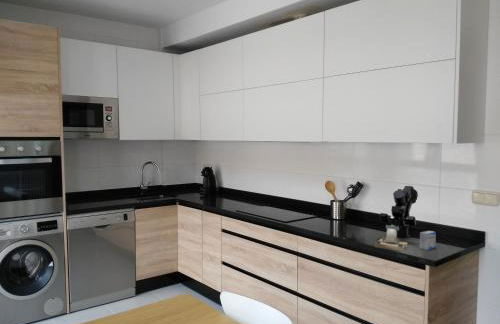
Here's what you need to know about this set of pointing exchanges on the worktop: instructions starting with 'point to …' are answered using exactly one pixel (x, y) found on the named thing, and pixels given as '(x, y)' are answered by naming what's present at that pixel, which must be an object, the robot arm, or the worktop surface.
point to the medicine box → (427, 240)
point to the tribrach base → (391, 244)
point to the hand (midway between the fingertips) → (394, 232)
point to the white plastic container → (391, 233)
